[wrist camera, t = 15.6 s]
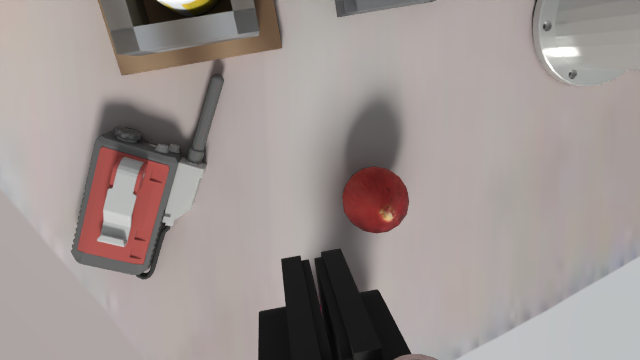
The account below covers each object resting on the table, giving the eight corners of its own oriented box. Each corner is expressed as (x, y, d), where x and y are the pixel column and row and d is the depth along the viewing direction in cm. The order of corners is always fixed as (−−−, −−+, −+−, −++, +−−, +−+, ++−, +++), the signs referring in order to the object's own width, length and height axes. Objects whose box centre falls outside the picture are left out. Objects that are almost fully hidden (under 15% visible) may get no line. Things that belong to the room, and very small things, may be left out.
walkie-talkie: (174, 276, 38) (232, 78, 33) (164, 302, 34) (229, 80, 29) (77, 255, 36) (126, 40, 31) (54, 280, 31) (107, 37, 27)
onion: (403, 178, 38) (440, 207, 31) (369, 224, 39) (397, 263, 31) (358, 147, 36) (385, 168, 29) (323, 195, 37) (341, 229, 30)
